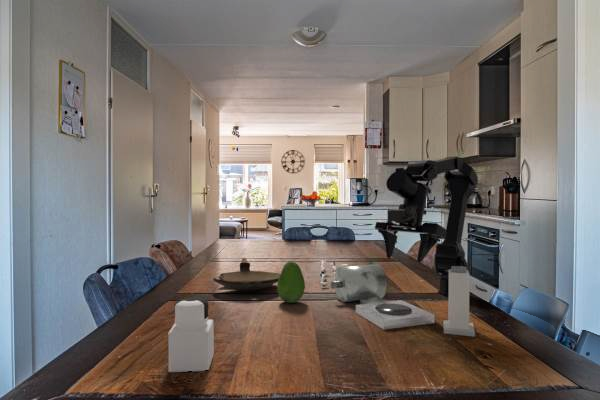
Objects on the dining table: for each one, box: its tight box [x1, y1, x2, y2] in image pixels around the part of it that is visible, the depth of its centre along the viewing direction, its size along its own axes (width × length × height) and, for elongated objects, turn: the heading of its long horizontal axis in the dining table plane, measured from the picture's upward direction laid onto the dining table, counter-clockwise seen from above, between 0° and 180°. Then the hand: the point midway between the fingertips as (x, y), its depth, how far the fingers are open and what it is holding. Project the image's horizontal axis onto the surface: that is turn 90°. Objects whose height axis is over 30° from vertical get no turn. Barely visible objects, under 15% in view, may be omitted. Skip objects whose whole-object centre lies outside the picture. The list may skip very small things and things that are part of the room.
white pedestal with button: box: [442, 266, 476, 338], centre depth 91 cm, size 6×6×14 cm
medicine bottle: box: [167, 296, 215, 373], centre depth 74 cm, size 7×7×12 cm
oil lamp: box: [212, 257, 281, 292], centre depth 133 cm, size 22×30×8 cm
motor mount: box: [330, 263, 435, 331], centre depth 108 cm, size 16×30×10 cm, turn 19°
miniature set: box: [319, 259, 349, 286], centre depth 149 cm, size 6×35×12 cm
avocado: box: [276, 260, 306, 304], centre depth 115 cm, size 8×8×12 cm
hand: (403, 260), depth 105 cm, fingers open, 9 cm apart
